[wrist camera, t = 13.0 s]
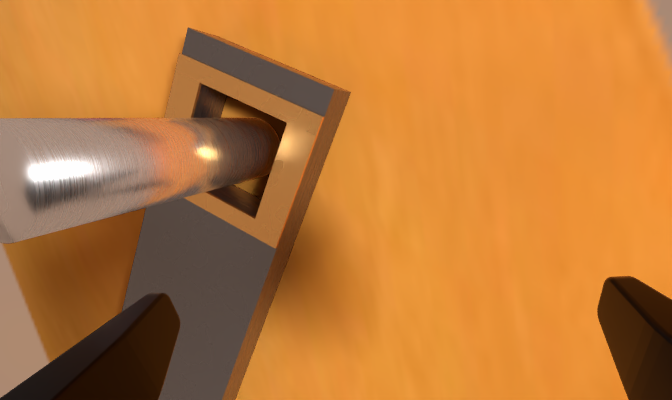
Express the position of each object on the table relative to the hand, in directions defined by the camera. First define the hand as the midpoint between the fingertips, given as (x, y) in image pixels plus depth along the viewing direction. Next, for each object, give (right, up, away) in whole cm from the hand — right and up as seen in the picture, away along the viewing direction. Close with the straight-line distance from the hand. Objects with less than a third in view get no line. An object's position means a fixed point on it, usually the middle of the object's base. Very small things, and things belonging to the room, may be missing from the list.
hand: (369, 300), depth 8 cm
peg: (-6, +5, +16) cm, 18 cm away
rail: (-10, -5, +20) cm, 22 cm away
